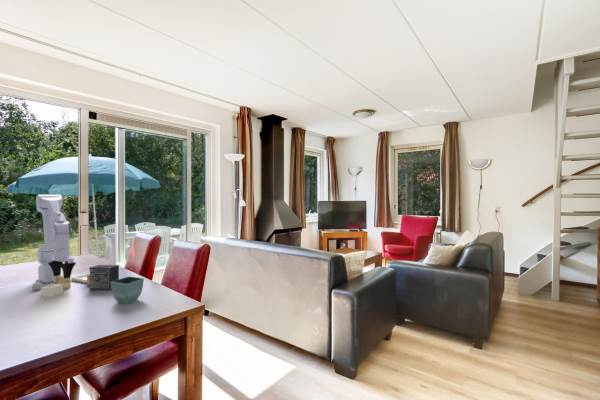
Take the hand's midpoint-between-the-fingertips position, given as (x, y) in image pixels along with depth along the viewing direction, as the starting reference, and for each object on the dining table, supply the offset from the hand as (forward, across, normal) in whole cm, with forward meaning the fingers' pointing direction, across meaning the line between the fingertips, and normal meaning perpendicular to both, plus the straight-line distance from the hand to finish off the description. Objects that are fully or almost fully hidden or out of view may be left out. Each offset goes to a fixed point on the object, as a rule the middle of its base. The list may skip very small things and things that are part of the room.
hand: (62, 277), depth 139 cm
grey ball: (+3, -8, -6) cm, 11 cm away
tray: (+5, -3, +15) cm, 16 cm away
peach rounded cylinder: (+5, +6, +10) cm, 13 cm away
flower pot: (+6, +44, 0) cm, 44 cm away
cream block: (+6, +6, -7) cm, 11 cm away
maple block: (+5, 0, 0) cm, 5 cm away
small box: (+6, +18, +8) cm, 20 cm away
